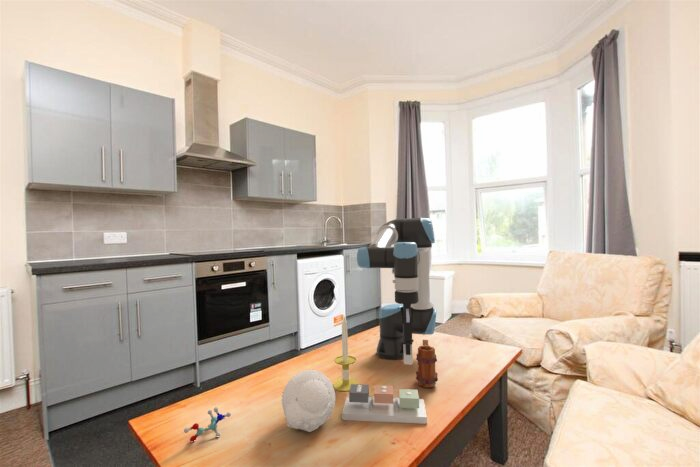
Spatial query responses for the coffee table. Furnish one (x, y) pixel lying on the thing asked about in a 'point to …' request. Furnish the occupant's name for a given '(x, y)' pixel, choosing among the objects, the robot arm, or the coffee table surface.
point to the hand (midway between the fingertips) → (408, 363)
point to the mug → (426, 365)
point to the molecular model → (211, 426)
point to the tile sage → (408, 398)
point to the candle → (344, 363)
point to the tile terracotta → (383, 394)
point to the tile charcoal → (359, 393)
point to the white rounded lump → (308, 400)
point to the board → (384, 412)
